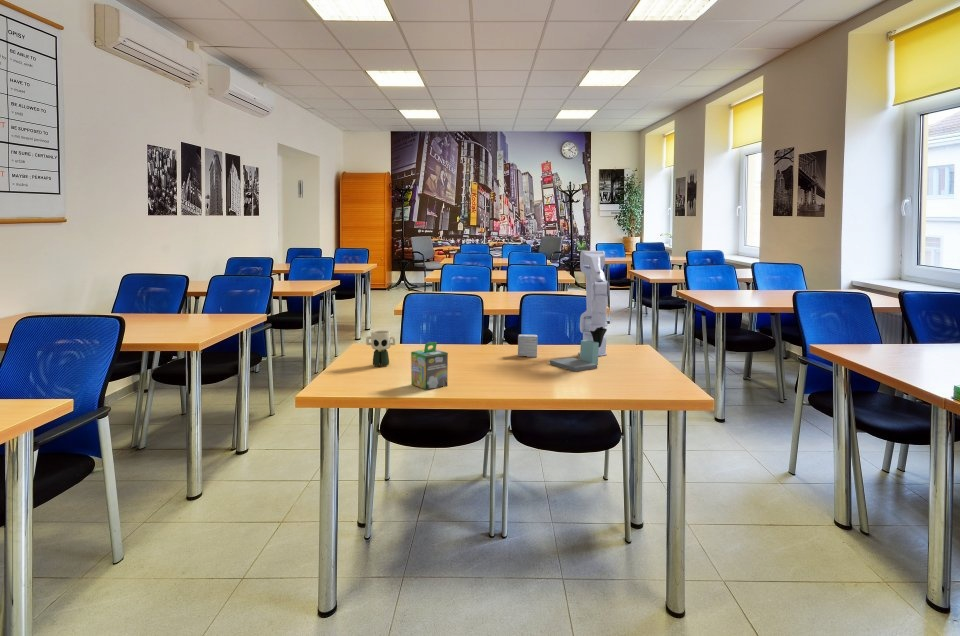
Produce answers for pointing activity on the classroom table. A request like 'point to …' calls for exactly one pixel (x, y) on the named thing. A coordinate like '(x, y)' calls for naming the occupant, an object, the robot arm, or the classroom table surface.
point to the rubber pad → (573, 364)
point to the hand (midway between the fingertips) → (597, 346)
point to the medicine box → (527, 345)
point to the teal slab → (589, 351)
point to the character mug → (380, 346)
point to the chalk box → (429, 367)
